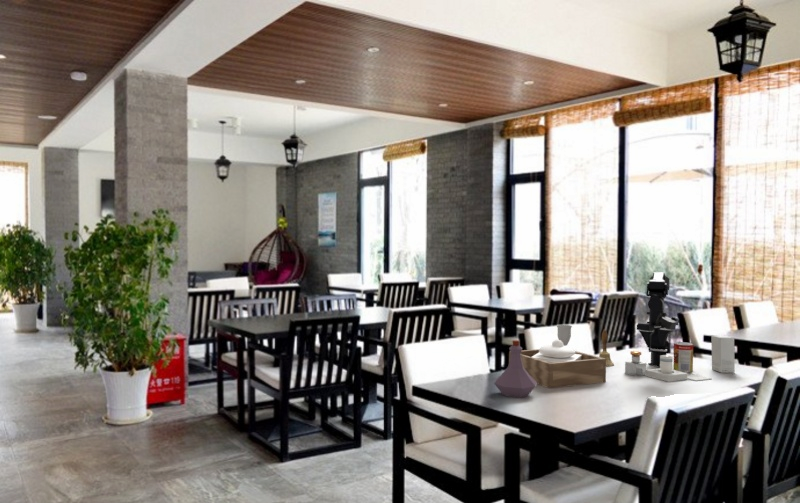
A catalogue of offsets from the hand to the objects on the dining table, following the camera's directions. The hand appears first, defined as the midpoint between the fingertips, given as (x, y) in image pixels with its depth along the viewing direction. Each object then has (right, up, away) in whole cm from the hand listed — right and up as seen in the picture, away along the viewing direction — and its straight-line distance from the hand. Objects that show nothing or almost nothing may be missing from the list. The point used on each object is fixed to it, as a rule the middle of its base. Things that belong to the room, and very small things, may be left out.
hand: (655, 346), depth 259 cm
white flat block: (+4, -13, 0) cm, 14 cm away
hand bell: (-13, -13, +26) cm, 32 cm away
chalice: (-32, -12, +25) cm, 43 cm away
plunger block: (-6, -13, +6) cm, 15 cm away
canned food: (+18, -13, +15) cm, 27 cm away
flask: (-65, -13, -31) cm, 73 cm away
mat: (+16, -13, -1) cm, 21 cm away
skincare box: (+35, -13, +14) cm, 40 cm away
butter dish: (-43, -13, -2) cm, 45 cm away
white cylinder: (+4, -13, 0) cm, 14 cm away
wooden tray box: (-43, -13, -2) cm, 45 cm away
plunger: (-6, -10, +6) cm, 13 cm away
